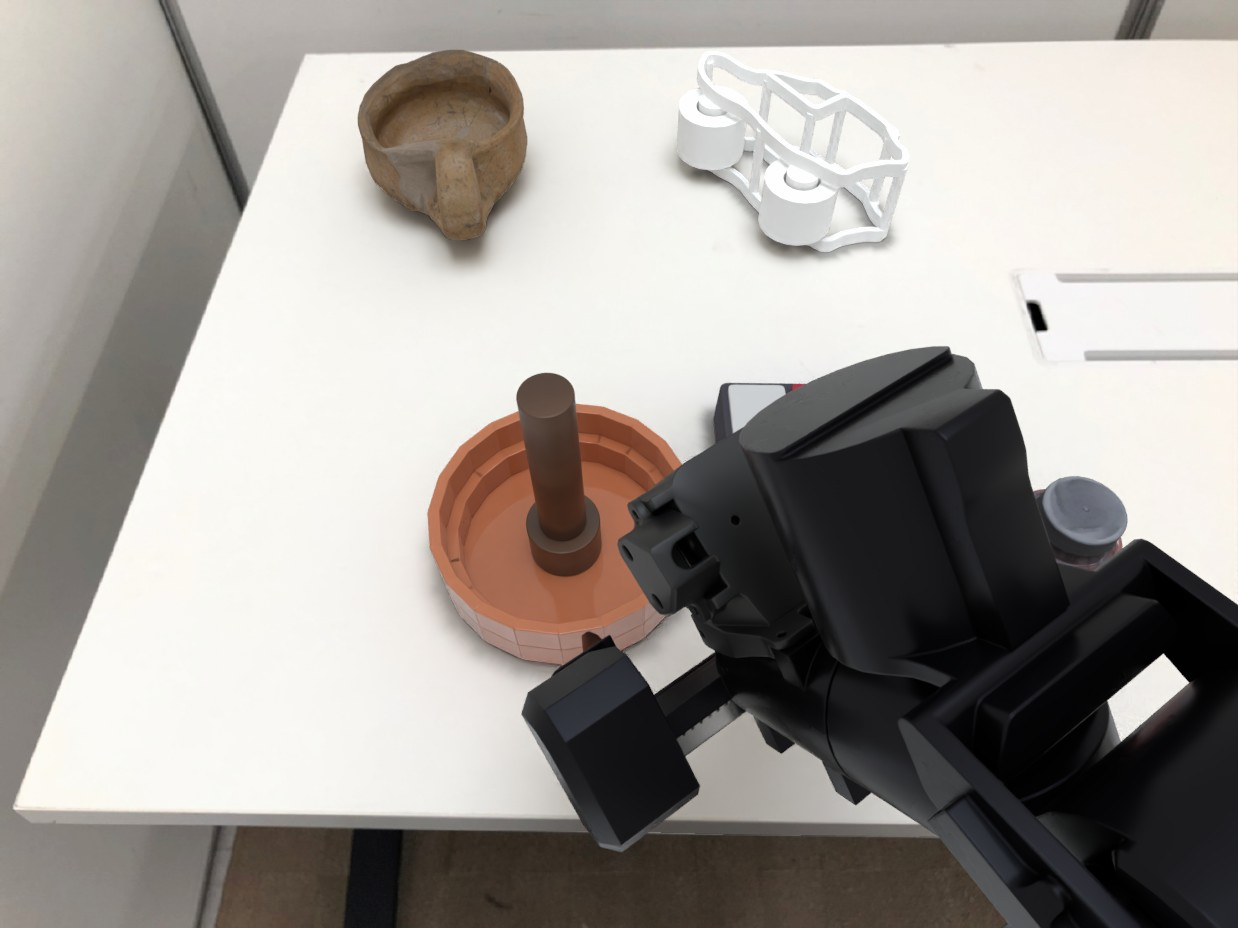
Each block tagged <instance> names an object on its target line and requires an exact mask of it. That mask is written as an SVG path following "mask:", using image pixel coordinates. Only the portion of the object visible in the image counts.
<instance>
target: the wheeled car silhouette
mask: <svg viewBox="0 0 1238 928" xmlns="http://www.w3.org/2000/svg"><path fill="white" fill-rule="evenodd" d="M714 68H716V69H720V70H723V71H725V72H726V73H728V74H730V76H732V77H734V78H736V79H737V80H739V81H741V82H744V83H745V84H749V85H751V86H757V87H758V86H759V87H760V86H761V87H762V89H761V96H760V102H759V103H760V104H759V111H758V112H757V111H756V110H755V109H754V108H753V107H752V106H750V105H749V104H748V103H749V102H748V100H747V99H746V98H745V97H744V96H743V94H741V93H740V92H738V91H736V90H735V89H733V88H729V87H726V86H722V85H721V86H719V85H715V84H714V83H713V74H714ZM696 71H697V72H696V82H697V86H698V87H696V88H693V89H691V90H689V91H687V92H686V93H684V94H683V96H682V97H680V99H679V103H678V113H677V114H678V115H677V116H678V117H677V133H676V134H677V136H676V137H677V138H676V151H677V156H679V158H680V159H681V161H683V162H684V163H685V164H687V165H688V166H690V167H693V168H696V169H699V170H704V171H708V172H711V173H712V174H713V175H715V176H717V177H718V178H720V179H722V180H724V181H726V182H728V183H730V184H731V185H732V186H734V188H736V189H737V190H738V191H739V192H740V193H741V194H742V195H743V197H744V198H745V200H746V201H747V202H748V203H749V204H750V205H751V206H752V207H753V208H754V209H755V210H756V212H757V213H758V218H757V221H758V225H759V228H760V230H761V231H762V232H763V233H764V235H765V236H766V237H768V238H770V239H772V240H773V241H774V242H776V243H777V242H778V243H781V244H784V245H787V246H793V247H794V246H795V247H797V246H808V247H811V248H812V249H814V250H816V251H818V252H819V253H830V252H833V251H835V250H837V249H839V248H841V247H845V246H849V245H854V244H855V245H856V244H860V243H880V242H882V241H883V240H884V239H885V238H887V237H888V233H889V230H890V226H891V223H892V220H893V217H894V214H895V211H896V208H897V204H898V201H899V198H900V195H901V191H902V187H903V185H904V181H905V179H906V176H907V172H908V169H909V166H908V164H909V160H910V152H909V149H908V148H907V147H906V146H905V145H903V144H902V143H901V141H900V137H901V134H900V131H899V129H898V128H896V127H895V126H894V125H893V124H892V123H890V122H889V121H888V120H887V119H886V118H885V117H884V116H882V115H880V114H879V113H878V112H876V110H874V109H872V108H871V107H870V106H868V105H867V104H865V103H864V102H863V101H861V99H859V98H857V97H855V96H853V95H851V94H849V93H848V92H847V91H846V90H842V89H839V88H835V87H834V86H833V85H831V84H830V83H828V82H826V80H824V79H819V78H811V77H804V76H801V75H796V74H792V73H790V72H787V71H781V70H776V69H765V68H763V69H762V68H761V69H758V68H754V67H751V66H748V65H746V64H744V63H742V62H741V61H739V60H738V59H736V58H735V57H733V56H731V55H730V54H728V53H725V52H722V51H716V50H708V51H705V52H703V54H701V56H700V59H699V61H698V63H697V70H696ZM772 94H774V95H775V96H776V97H777V98H779V99H780V100H781V101H783V102H784V103H785V104H787V105H788V106H789V107H791V108H792V109H793V110H794V111H796V112H797V113H799V115H801V116H802V117H803V118H805V120H804V126H803V131H802V137H801V142H800V145H794V144H790V143H789V142H788V141H786V140H785V139H784V138H783V137H782V136H781V135H780V134H779V133H777V132H776V131H775V130H774V129H773V128H772V127H771V126H770V125H769V124H768V121H769V115H770V108H771V102H772V101H771V100H772ZM804 95H807V96H817V97H818V98H819V99H821V100H822V102H820V103H816V104H814V103H813V102H812V101H810V100H809V99H807V98H806V97H805V96H804ZM846 113H848V114H850V115H852V116H853V117H855V118H856V119H857V120H859V121H860V122H861V123H862V124H864V125H865V126H866V127H867V128H868V129H870V130H871V131H872V132H874V133H875V134H877V135H878V137H880V139H881V140H882V143H883V144H882V147H881V151H880V155H879V159H878V160H873V161H869V162H863V163H859V164H856V165H854V166H852V167H850V168H849V167H848V168H847V169H845V168H844V167H843V166H841V165H840V164H838V163H836V157H837V153H838V150H839V145H840V141H841V136H842V131H843V126H844V123H845V118H846ZM832 115H833V116H834V117H833V122H832V126H831V130H830V136H829V140H828V144H827V150H826V154H825V156H822V155H820V154H819V153H817V152H816V151H815V150H813V149H812V148H811V147H812V141H813V137H814V133H815V128H816V127H815V126H816V122H818V121H822V120H823V119H826V118H828V117H830V116H832ZM747 125H748V126H749V127H750V128H751V130H752V131H753V132H754V133H755V136H747V135H746V132H747ZM744 152H752V153H753V154H752V162H751V169H750V177H749V180H748V178H746V177H745V176H744V175H743V174H742V173H741V172H739V171H738V170H737V169H735V168H734V167H732V166H733V165H735V164H737V163H738V162H739V161H740V159H741V158H742V157H743V154H744ZM891 158H892V159H891ZM764 161H765V162H766V163H767V164H768V167H767V168H766V169H765V173H764V178H763V185H762V192H761V193H759V191H760V190H759V189H760V183H761V175H762V168H763V162H764ZM886 178H892V181H891V184H890V187H889V191H888V193H887V197H886V201H885V204H884V207H883V211H882V210H881V209H880V207H879V206H880V196H881V192H882V189H883V186H884V182H885V179H886ZM872 179H873V181H872V184H871V187H870V189H869V188H868V187H867V186H866V185H865V184H864V183H862V181H867V180H872ZM840 188H844V189H846V191H848V192H849V193H850V194H852V195H853V196H854V197H855V198H857V200H859V201H860V202H861V204H862V205H863V207H864V210H865V212H866V214H867V217H868V219H869V220H870V222H871V223H872V224H873V226H860V227H854V228H850V229H845V230H840V231H838V232H836V233H834V234H832V235H829V236H827V234H828V232H829V231H830V229H831V224H832V221H833V216H834V212H835V208H836V203H837V198H838V195H839V190H840Z"/></svg>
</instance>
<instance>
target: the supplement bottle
mask: <svg viewBox="0 0 1238 928" xmlns="http://www.w3.org/2000/svg"><path fill="white" fill-rule="evenodd" d="M1033 492H1034V495H1035V498H1036V501H1037V504H1038V507H1039V510H1040V513H1041V516H1042V519H1043V522H1044V525H1045V528H1046V531H1047V535H1048V538H1049V541H1050V544H1051V547H1052V550H1053V553H1054V556H1055V559H1056V562H1058V563H1061V564H1066V565H1070V566H1075V567H1079V568H1083V569H1088V570H1092V571H1094V570H1095V569H1096V568H1097V567H1099V566H1100V565H1101V564H1103V563H1104V562H1105V561H1107V560H1108V559H1109V558H1111V557H1112V556H1113V555H1114V554H1116V553H1117V552H1118V551H1120V550H1121V549H1122V548H1123V547H1124V546H1123V545H1124V544H1123V541H1122V540H1123V539H1122V537H1123V535H1124V533H1125V532H1126V530H1127V527H1128V521H1129V520H1128V519H1129V518H1128V513H1127V509H1126V507H1125V505H1124V502H1123V500H1121V498H1120V497H1119V496H1118V495H1117V494H1116V493H1115V492H1114V491H1113V490H1111V488H1109V487H1108V486H1106V485H1105V484H1103V483H1102V482H1100V481H1097V480H1095V479H1093V478H1090V477H1085V476H1080V475H1070V476H1064V477H1059V478H1057V479H1055V480H1054V481H1052V482H1051V483H1050V484H1049V485H1048V486H1047V487H1046V488H1041V489H1035V490H1033Z"/></svg>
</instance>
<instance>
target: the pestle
mask: <svg viewBox="0 0 1238 928" xmlns="http://www.w3.org/2000/svg"><path fill="white" fill-rule="evenodd" d="M515 395H516V396H515V401H516V405H517V411H518V412H519V417H520V422H521V428H522V433H523V438H524V444H525V449H526V455H527V460H528V465H529V471H530V476H531V482H532V487H533V492H534V498H535V503H534V504H533V505H532V507H531V508H530V510H529V512H528V515H527V518H526V529H527V534H528V538H529V543H530V548H531V552H532V556H533V558H534V560H535V562H536V563H537V564H538V565H539V566H540V567H541V568H542V569H543V570H544V571H546V572H548V573H550V574H553V575H557V576H573V575H577V574H580V573H582V572H584V571H585V570H587V569H588V568H590V567H591V566H592V565H593V564H594V563H595V561H596V560H597V559H598V557H599V554H600V552H601V547H602V541H601V526H600V515H599V512H598V509H597V507H596V506H595V504H594V503H593V502H592V501H591V500H590V499H589V498H588V497H586V496H585V495H584V487H583V476H582V466H581V455H580V444H579V434H578V423H577V412H576V404H577V403H576V402H577V401H576V393H575V389H574V386H573V384H572V383H571V382H570V381H569V380H568V379H567V378H566V377H564V376H563V375H560V374H558V373H554V372H540V373H536V374H533V375H530V376H529V377H527V378H526V379H525V380H524V381H523V382H522V383H521V384H520V385H519V386H518V389H517V391H516V394H515Z"/></svg>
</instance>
